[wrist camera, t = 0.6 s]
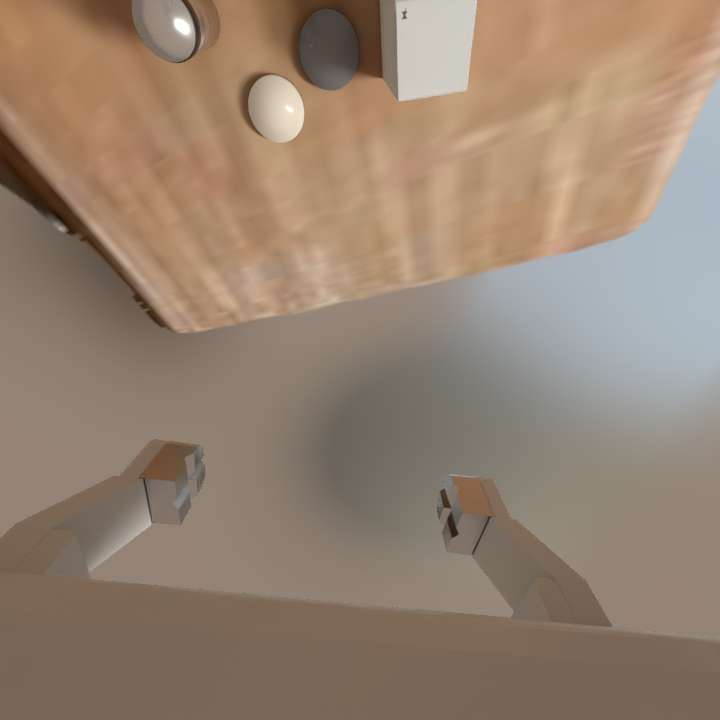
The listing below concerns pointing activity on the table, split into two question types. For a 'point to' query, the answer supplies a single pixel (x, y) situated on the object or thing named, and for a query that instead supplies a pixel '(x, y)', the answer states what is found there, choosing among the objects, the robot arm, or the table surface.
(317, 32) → the disc
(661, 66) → the table surface
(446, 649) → the robot arm
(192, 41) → the grey-lidded jar
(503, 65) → the table surface
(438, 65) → the supplement box
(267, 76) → the cream dome cap
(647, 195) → the table surface
